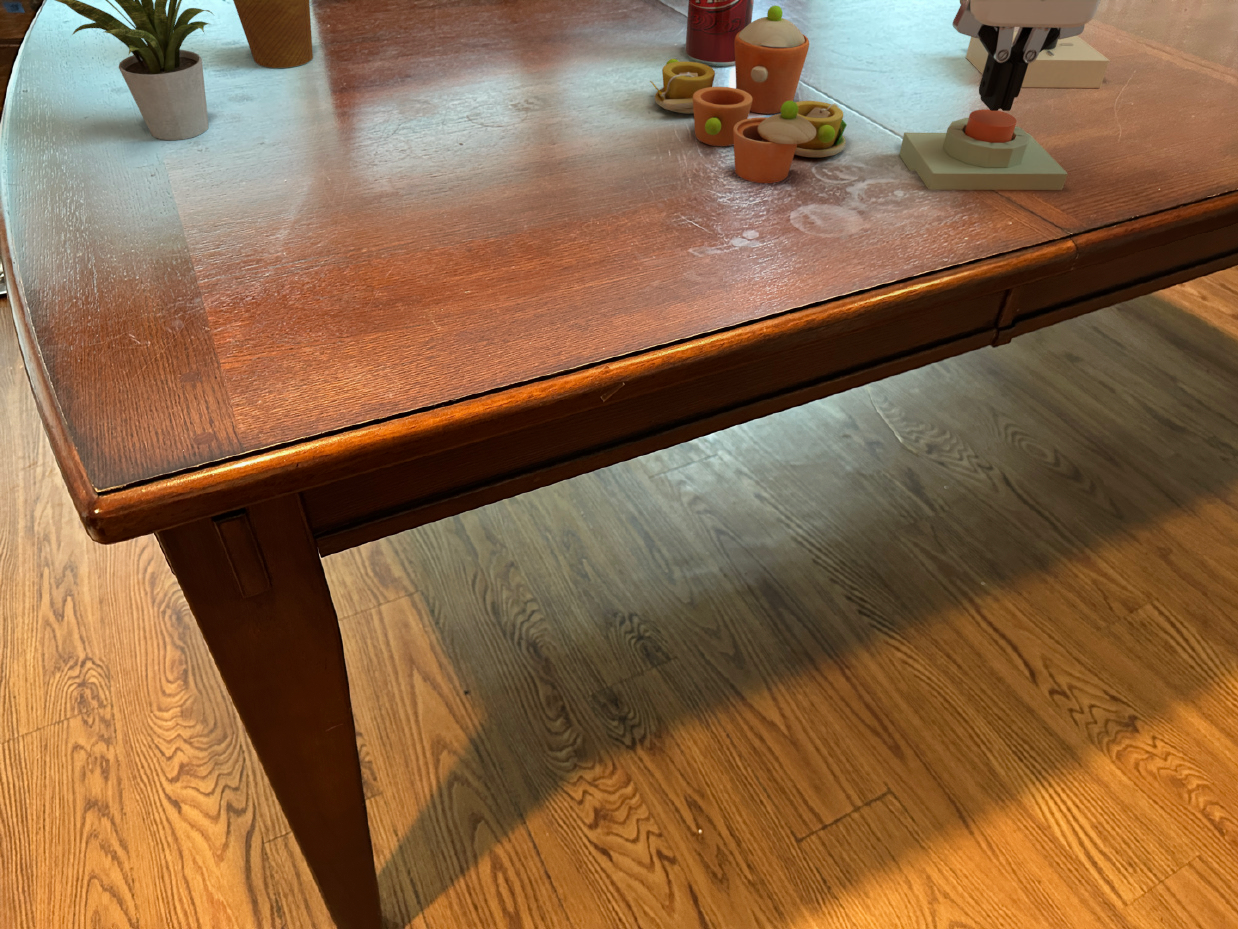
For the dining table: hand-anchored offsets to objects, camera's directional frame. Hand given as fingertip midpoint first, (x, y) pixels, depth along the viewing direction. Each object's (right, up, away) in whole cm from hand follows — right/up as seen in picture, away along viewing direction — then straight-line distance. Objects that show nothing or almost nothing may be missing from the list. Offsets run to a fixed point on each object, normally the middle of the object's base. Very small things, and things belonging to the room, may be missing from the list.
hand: (994, 104), depth 81 cm
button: (0, -2, +2) cm, 3 cm away
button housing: (0, -5, +4) cm, 6 cm away
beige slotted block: (+15, +14, +26) cm, 33 cm away
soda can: (-22, +16, +27) cm, 38 cm away
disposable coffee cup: (-70, +14, +23) cm, 75 cm away
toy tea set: (-19, +1, +10) cm, 22 cm away
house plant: (-74, +1, +9) cm, 75 cm away
